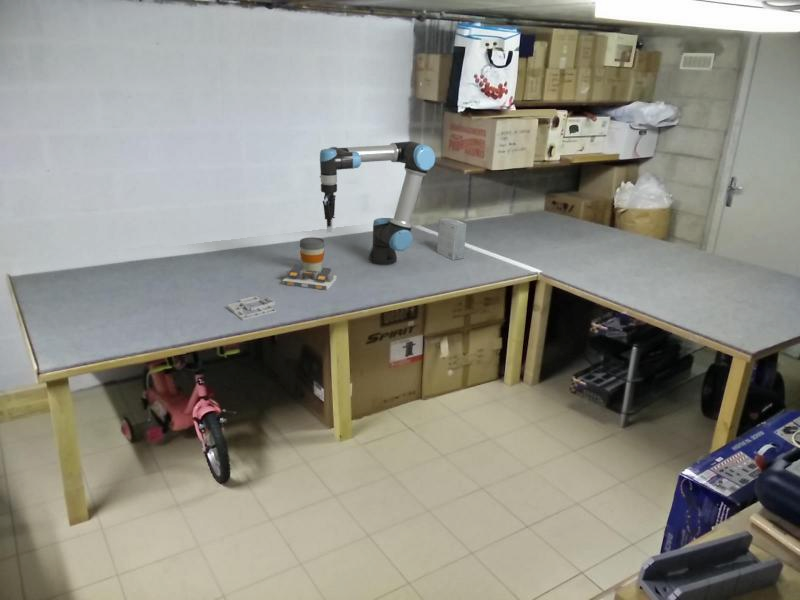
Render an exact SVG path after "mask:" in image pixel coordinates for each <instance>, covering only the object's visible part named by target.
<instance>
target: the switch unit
mask: <svg viewBox="0 0 800 600" xmlns="http://www.w3.org/2000/svg"><path fill="white" fill-rule="evenodd" d="M292 269H293V267H290V268H288V269H287V270H286V273H285V274H286V277H285V278H284V279H282V285H284V286H293V287H302V288H308V289H309V288H310V289H318V290H324V291H327V290H329V289H330V287H331V286H332V285H333V284H334V283H335V282H336V280H337V275H336V274H334V272H330V274H329V276H328V277H327V279H326V281H325V282H318V281H317V278H318V276H319V273H320V272H321V270H320V271H317V272H316V273H315V274H314V275H312V276H305V275H302V274H303V272H306V270H304V269H302V271H301V273H300V274H299V276H298V277H297V279H296V278H289V276H288V275H289V274H290V272H291V270H292Z"/></svg>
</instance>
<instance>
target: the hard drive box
mask: <svg viewBox="0 0 800 600" xmlns="http://www.w3.org/2000/svg"><path fill="white" fill-rule="evenodd" d="M467 225H468V223H465V222H462V221H460V220H457V219H454V218H452V217H451V218H450V217H446V218H445V217H444V218H439V220H438V235H437V245H436V246H437V249H436V253H437V254H439V255H441V256H442V257H445V258H447V259H449V260H451V261H458V260H461V259H462V260H463V259H464V257H465V256H464V255H465V244H466V234H467V233H466V232H467Z"/></svg>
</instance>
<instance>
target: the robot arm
mask: <svg viewBox="0 0 800 600" xmlns="http://www.w3.org/2000/svg"><path fill="white" fill-rule="evenodd" d="M387 161H388V162H389V161H390V162H392V163H400V164H404V170H405V176H404V181H403V184H402V187H401V191H400V194H399V198H398V202H397V205H396V209H395V213H394V215H393V218H391V217H381V218H374V220H373V224H372V245H371V246H372V247H371V248H370V252H369V255H368V261H369V262H370V263H371V264H372V263H373V264H374V265H383V266H384V265H391V264H395V263H397V261H398V257H397V252H403V251H405V250H407V249H409V248H410V246H412V243H413V239H414V237H413V235H412V232H411V231H412V227H413V226H412V224H411V221H412V217H413V213H414V210H415V207H416V204H417V203H416V202H417V200H418V199H417V198H418V197H419V196H418V195H419V191H420V188H421V185H422V181H423V177H425V176H426V175H427V174H428V172H429V171H430V170H431V168H433V167H434V166H435V163H436V154H435V152H434V150H433V149H432V147H430V146H428V145H426V144H423V143H419V142H416V141H399V142H398V141H397V142H391V143H389V145H371V146H369V145H367V146H366V145H365V146H351V147H349V146H348V147H336V146H331V147H329V148H323V149H321V150H320V152H319V167H320V168H319V169H320V170H319V171H320V175H319V178H320V183H321V184H320V191H321V193H324V196H323V199H324V200H322V204H323V213H324V220H326V233H334V219H335V218H336V216H335V209H336V208H335V207H336V196H337V195H335V193H337V192H338V184H337V182H338V171H340V170H351V169H358V168H360V166H361V164H362V163H371V162H387Z"/></svg>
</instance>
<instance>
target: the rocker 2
mask: <svg viewBox="0 0 800 600" xmlns="http://www.w3.org/2000/svg"><path fill="white" fill-rule="evenodd" d="M331 273H332V268H329V267H321V270H320V273H319V276H318V278H317V281H318V282H325V281H326V279H327V277H328V276H329V275H330V274H331Z"/></svg>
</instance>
